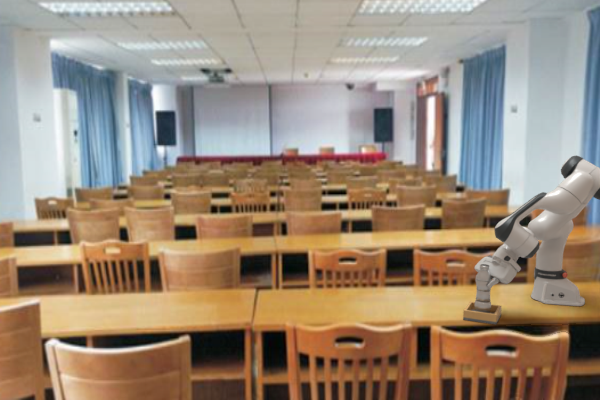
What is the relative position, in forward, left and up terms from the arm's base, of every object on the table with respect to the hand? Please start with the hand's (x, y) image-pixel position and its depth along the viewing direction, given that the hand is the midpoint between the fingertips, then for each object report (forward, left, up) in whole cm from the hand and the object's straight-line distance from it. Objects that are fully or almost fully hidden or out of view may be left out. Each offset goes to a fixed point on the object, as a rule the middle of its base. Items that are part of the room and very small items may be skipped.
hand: (482, 284), depth 228 cm
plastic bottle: (0, 0, -12) cm, 12 cm away
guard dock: (0, -1, -14) cm, 14 cm away
